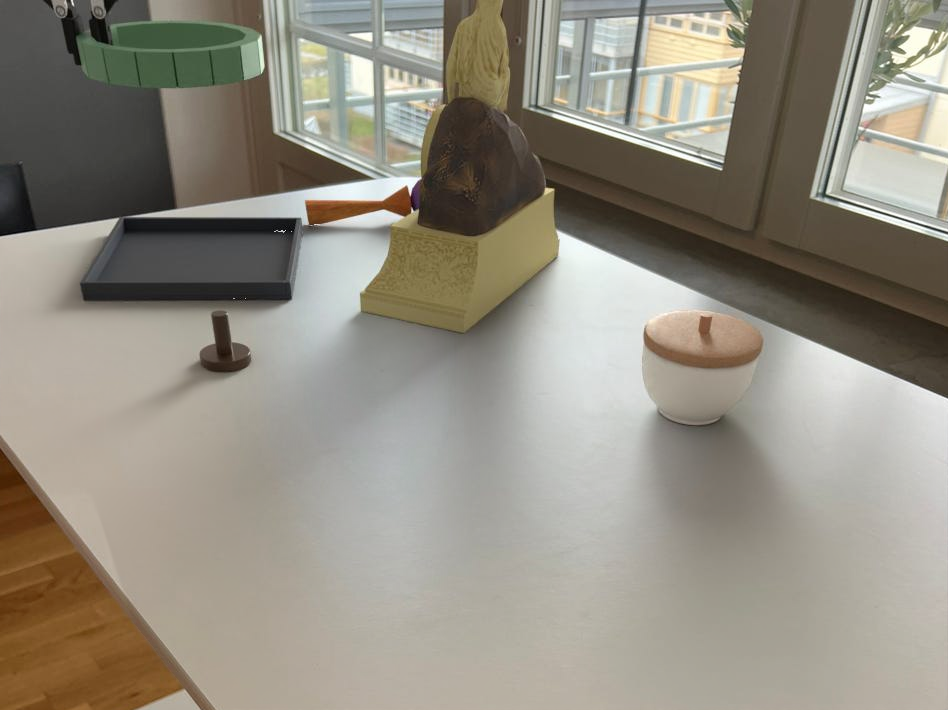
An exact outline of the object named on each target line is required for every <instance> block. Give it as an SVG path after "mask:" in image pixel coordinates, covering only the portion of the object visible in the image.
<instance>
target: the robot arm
mask: <svg viewBox="0 0 948 710" xmlns="http://www.w3.org/2000/svg"><path fill="white" fill-rule="evenodd" d="M42 1H43V2H44V3H45V4H46V5H47V6H48V7H49V8H50V9H51V10H53V11H54V14H55V15H56V16H57V18H60V21H61V26H62V31H63V36H64V40H65V45H66V50H67V52H68V54H69V55H72V57H73V61H74V65H75V66H82V64H81V60H80V55H79V50H78V45H77V40H76V36H78V35H79V34H81V33H82V32H83V31H85V26H84V21H83V16H82V15H80V13H78V11H77V7H75V4H74V0H42ZM118 2H119V0H90V5H91V10H90V16H91V18H90V19H89V20H88V26H89V29H90V31H91V36H92V37H93V38H94V39H95V40H96V41H97V42H100V43H104V44H108V45H112V46H114V44H113V38H112V33H111V28H110V25H111V23H110V18H109V15H110V14H111V13H112V11H113V10H114V8H115V6H116V5H117V3H118Z"/></svg>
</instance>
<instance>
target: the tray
mask: <svg viewBox="0 0 948 710" xmlns="http://www.w3.org/2000/svg"><path fill="white" fill-rule="evenodd" d="M302 221H303V220H302V217H281V216H279V217H278V216H277V217H276V216H275V217H274V216H273V217H267V216H266V217H264V216H263V217H255V216H253V217H249V216H248V217H243V216H242V217H241V216H240V217H233V216H232V217H231V216H229V217H228V216H224V217H219V216H217V217H213V216H212V217H211V216H204V217H203V216H199V217H198V216H189V217H188V216H185V217H184V216H125V217H124V216H119V218H118V219H117V221H116V222H115V224H114V226H113V227H112V229H111V231H110V233H109V234H108V236H107V238H106V239H105V240H104V242H103V244H102V246H101V247H100V249H99V250H98V252H97V253H96V256H95V257H94V259H93V260H92V262H91V264H90V265H89V267H88V268H87V270H86V272H85V273H84V275H83V277H82V278H81V279H80V282H79V286H80V291H81V296H82V299H83V301H211V300H210V299H233V298H235V299H245V298H246V299H292V300H293V296H294V290H293V289H295V283H296V277H297V271H296V270H297V269H298V265H297V262H298V263H299V259H298V256H299V257H300V252H299V249H300V250H301V246H300V243H301V244H302V240H301V236H302V237H303V234H302V231H303V222H302ZM276 230H278V231H281V230H283V231H285V230H286V231H285V232H284V233H283V232H278V231H276ZM274 231H276V232H274ZM291 231H292V232H291ZM295 276H296V277H295ZM294 282H295V283H294ZM206 299H208V300H206Z"/></svg>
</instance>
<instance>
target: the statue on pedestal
mask: <svg viewBox="0 0 948 710" xmlns="http://www.w3.org/2000/svg"><path fill="white" fill-rule="evenodd" d="M503 4H504V0H476V5H475V10H474V12H473V13H472V14H471V15H470V16H467V17H466V18H464V19H462V20H461V21H460V22H459V23H458V25H457V27H456V30H455V33H454V36H453V39H452V43H451V45H450V49H449V52H448V56H447V60H446V65H445V83H446V92H447V93H446V94H447V102H446V104H441V105H439V106H438V107H437V108H436V109H435V110H433V112H432V114H431V116H430V117H429V119H428V122H427V124H426V127H425V130H424V133H423V138H422V143H421V150H420V177H421V178H420V179H421V181H420V183H419V184H418V199H419V209H418V210H416V211H412V212H411V214H409V215H407V216H406V217H402V218H400V219H399V220H397V221H395V222H393V223H391V224H390V225H389V239H390V240H389V245H388V251H387V255H386V257H385V259H384V262H383V263H382V266H381V268H380V270H379V271H378V273H377V274H376V275H375V276H374V278H373V279H372V280H371V281H370V282H369V283H368V284H367V285H366V287H365V289H364V290H362V291H360V292H359V301H360V304H359V305H360V312H364V313H369V314H374V315H377V316H382V317H386V318H391V319H397V320H401V321H405V322H410V323H415V324H419V325H424V326H428V327H429V326H430V327H433V328H438V329H442V330H447V331H452V332H455V333H456V332H457V333H461V334H465V333H466V332H467V331H469V330H470V329H471V328H473V326H475V325H476V324H478V323H479V322H480V321H481V320H482V319H483V318H484V317H486V316H487V315H488V314H490V312H491V311H493V310H494V309H496V307H498V306H499V305H500V304H502V303H503V302H504V301H505V300H506V299H508V298H509V297H510V296H511V295H512V294H513V293H515V292H516V291H517V290H518V289H520V288H521V287H522V286H523V285H524V284H526V283H527V282H529V280H530V279H532V278H533V277H534V276H535V275H536V274H538V273H539V272H540V271H541V270H543V269H544V268H545V267H546V266H547V265H549V264H550V263H551V262H553V261H554V260H555V259H556V258H557V257H558V256H559V251H560V238H559V234H558V232H557V229H556V222H555V212H554V210H555V207H554V206H555V205H554V203H555V202H554V201H555V191H556V188H550V187H547V181H546V177H545V173H544V168H543V166H542V164H541V161H540V159H539V157H538V156H537V155H536V154H535V153H533V150H532V149H531V146H530V145H529V142H528V140H527V138H526V136H525V134H524V133H523V131H522V129H521V128H520V126H519V125H518V124H517V123H516V122H514V121H512V120H511V119H510V117H509V116H508V115H507V114H506V113H504V111H505V112H506V111H507V106H508V96H509V88H510V84H511V70H510V67H509V63H510V51H509V50H510V49H509V44H508V35H507V29H506V26H505V23H504V21H503V19H502V16H501V13H502V9H503ZM457 84H459V86H458V87H459V91H458V97H456V88H457Z"/></svg>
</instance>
